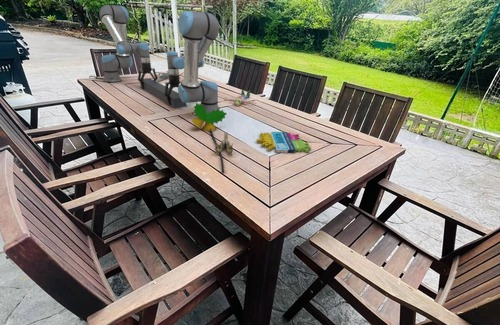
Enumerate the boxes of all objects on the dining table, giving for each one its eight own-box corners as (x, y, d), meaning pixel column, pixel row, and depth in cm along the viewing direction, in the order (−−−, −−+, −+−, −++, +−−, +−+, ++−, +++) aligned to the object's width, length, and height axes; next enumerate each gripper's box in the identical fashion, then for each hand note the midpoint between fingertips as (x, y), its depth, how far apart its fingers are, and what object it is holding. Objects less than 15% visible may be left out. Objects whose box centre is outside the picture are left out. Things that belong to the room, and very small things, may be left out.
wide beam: (186, 106, 200) (186, 96, 197) (174, 108, 195) (173, 98, 191) (151, 86, 246) (150, 78, 243) (140, 87, 241) (139, 79, 237)
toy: (261, 91, 228) (254, 99, 202) (261, 99, 231) (253, 108, 205) (231, 87, 233) (220, 95, 207) (230, 95, 236) (219, 104, 210)
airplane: (149, 74, 288) (148, 65, 283) (178, 73, 302) (177, 64, 297) (156, 83, 260) (154, 73, 255) (187, 81, 273) (186, 71, 268)
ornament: (218, 133, 171) (224, 110, 169) (221, 134, 163) (227, 111, 161) (186, 125, 162) (192, 101, 160) (189, 126, 155) (195, 101, 153)
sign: (313, 150, 142) (258, 149, 139) (312, 153, 143) (258, 152, 140) (301, 132, 164) (254, 130, 161) (301, 134, 165) (254, 133, 162)
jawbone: (234, 135, 144) (233, 125, 135) (233, 160, 138) (232, 151, 129) (217, 135, 144) (216, 125, 135) (216, 160, 138) (214, 150, 129)
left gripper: (156, 61, 236) (159, 86, 247) (131, 62, 223) (135, 88, 234) (160, 62, 231) (162, 87, 242) (134, 63, 218) (138, 90, 229)
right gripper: (185, 72, 200) (187, 100, 211) (156, 74, 187) (160, 104, 198) (190, 74, 195) (191, 103, 206) (161, 76, 182) (164, 107, 193)
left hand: (149, 88), depth 238 cm, fingers closed on wide beam, 10 cm apart
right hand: (176, 104), depth 202 cm, fingers closed on wide beam, 10 cm apart
